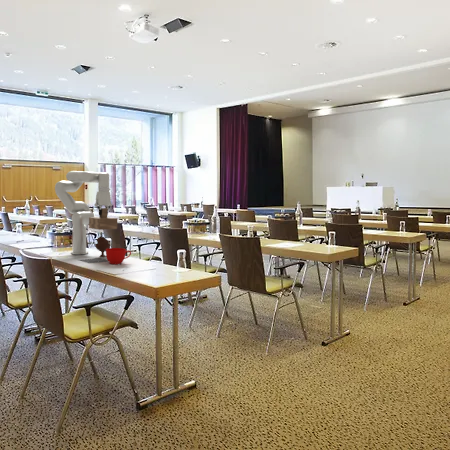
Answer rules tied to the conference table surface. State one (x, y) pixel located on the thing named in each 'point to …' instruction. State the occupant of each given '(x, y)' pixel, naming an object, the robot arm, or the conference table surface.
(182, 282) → the conference table surface
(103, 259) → the mat
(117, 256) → the ceramic cup
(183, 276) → the conference table surface
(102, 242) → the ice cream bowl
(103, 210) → the brown block with knob
